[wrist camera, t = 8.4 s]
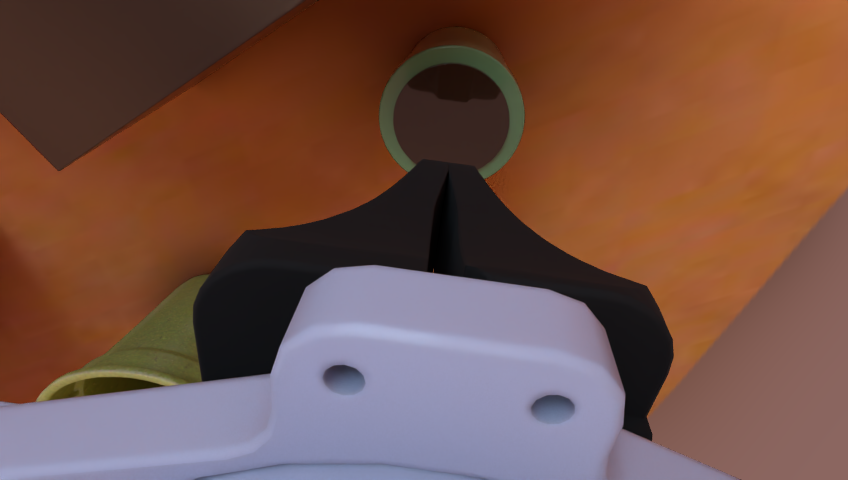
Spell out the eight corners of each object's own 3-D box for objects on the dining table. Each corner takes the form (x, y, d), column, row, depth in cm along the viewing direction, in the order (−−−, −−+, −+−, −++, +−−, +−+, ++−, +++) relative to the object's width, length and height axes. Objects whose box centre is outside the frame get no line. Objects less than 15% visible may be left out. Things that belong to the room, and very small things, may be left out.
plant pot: (309, 253, 27) (247, 385, 19) (317, 385, 32) (270, 529, 24) (126, 236, 27) (-4, 359, 20) (163, 369, 32) (71, 507, 25)
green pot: (373, 58, 21) (349, 94, 17) (480, -8, 20) (482, 15, 16) (433, 156, 23) (424, 210, 19) (535, 103, 22) (549, 150, 18)
